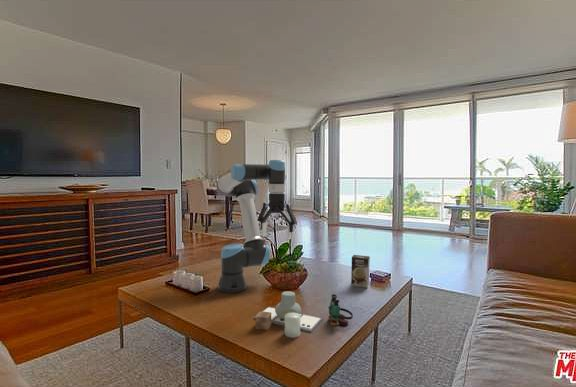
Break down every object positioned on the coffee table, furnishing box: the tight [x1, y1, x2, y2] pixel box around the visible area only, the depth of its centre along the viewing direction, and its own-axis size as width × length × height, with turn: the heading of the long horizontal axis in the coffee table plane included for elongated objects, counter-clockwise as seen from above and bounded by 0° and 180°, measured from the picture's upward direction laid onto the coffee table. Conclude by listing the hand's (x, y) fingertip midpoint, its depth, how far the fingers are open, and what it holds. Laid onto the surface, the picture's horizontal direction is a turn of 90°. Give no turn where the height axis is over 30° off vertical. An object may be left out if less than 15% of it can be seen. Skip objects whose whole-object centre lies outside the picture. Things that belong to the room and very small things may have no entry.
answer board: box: [253, 306, 323, 333], centre depth 135 cm, size 26×12×1 cm, turn 63°
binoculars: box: [327, 293, 354, 327], centre depth 133 cm, size 9×11×10 cm
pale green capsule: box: [284, 313, 301, 339], centre depth 123 cm, size 6×6×7 cm
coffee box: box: [350, 254, 371, 289], centre depth 177 cm, size 9×6×16 cm
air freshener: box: [274, 290, 302, 319], centre depth 135 cm, size 11×8×10 cm
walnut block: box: [255, 310, 272, 331], centre depth 129 cm, size 5×5×5 cm
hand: (276, 237), depth 152 cm, fingers open, 13 cm apart
